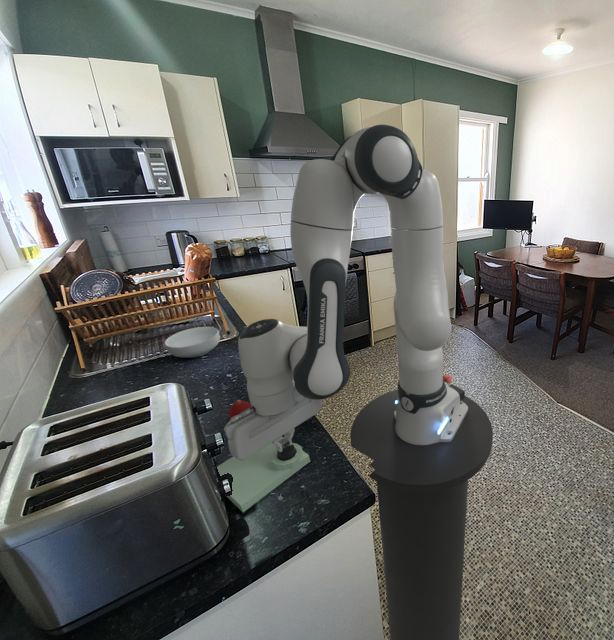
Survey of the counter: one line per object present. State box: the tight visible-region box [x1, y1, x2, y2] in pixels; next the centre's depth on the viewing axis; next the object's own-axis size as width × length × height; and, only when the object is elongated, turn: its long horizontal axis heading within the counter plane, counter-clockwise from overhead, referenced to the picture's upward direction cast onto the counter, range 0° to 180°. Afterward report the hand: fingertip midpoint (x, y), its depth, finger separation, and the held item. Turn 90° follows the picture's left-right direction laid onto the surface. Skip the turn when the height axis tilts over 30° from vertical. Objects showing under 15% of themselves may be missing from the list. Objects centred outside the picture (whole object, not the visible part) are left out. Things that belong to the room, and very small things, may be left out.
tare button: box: [277, 444, 295, 461], centre depth 77 cm, size 4×4×2 cm
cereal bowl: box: [164, 326, 221, 359], centre depth 127 cm, size 17×17×7 cm
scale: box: [216, 435, 311, 513], centre depth 77 cm, size 16×14×4 cm
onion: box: [228, 399, 251, 420], centre depth 90 cm, size 6×6×8 cm
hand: (284, 447), depth 77 cm, fingers closed
